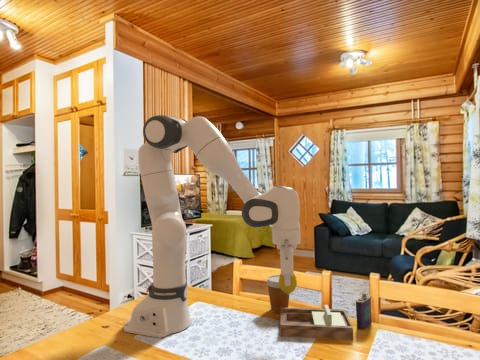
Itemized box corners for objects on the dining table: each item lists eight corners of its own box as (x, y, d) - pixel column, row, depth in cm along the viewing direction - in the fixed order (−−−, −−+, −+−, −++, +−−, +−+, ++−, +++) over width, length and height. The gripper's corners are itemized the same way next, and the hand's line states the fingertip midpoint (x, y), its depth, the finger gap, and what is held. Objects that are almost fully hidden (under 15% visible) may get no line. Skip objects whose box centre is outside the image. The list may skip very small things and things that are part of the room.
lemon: (296, 298, 92) (295, 271, 92) (278, 297, 93) (277, 271, 93) (297, 291, 97) (296, 266, 97) (280, 290, 98) (279, 266, 98)
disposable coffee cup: (274, 303, 122) (274, 273, 122) (296, 308, 116) (295, 277, 116) (262, 311, 114) (261, 279, 114) (284, 317, 108) (284, 284, 108)
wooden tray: (280, 336, 95) (280, 324, 95) (280, 316, 109) (280, 306, 109) (353, 339, 92) (353, 328, 92) (344, 319, 106) (343, 309, 106)
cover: (314, 327, 96) (314, 315, 96) (311, 313, 106) (311, 302, 106) (346, 328, 94) (346, 317, 94) (340, 314, 105) (339, 303, 105)
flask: (365, 318, 106) (364, 288, 106) (374, 321, 104) (373, 290, 104) (355, 328, 99) (354, 296, 100) (364, 331, 97) (363, 298, 98)
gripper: (297, 244, 84) (299, 293, 84) (295, 231, 105) (296, 271, 104) (274, 243, 85) (276, 293, 85) (277, 231, 106) (278, 271, 105)
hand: (287, 281), depth 95 cm, fingers closed on lemon, 5 cm apart
